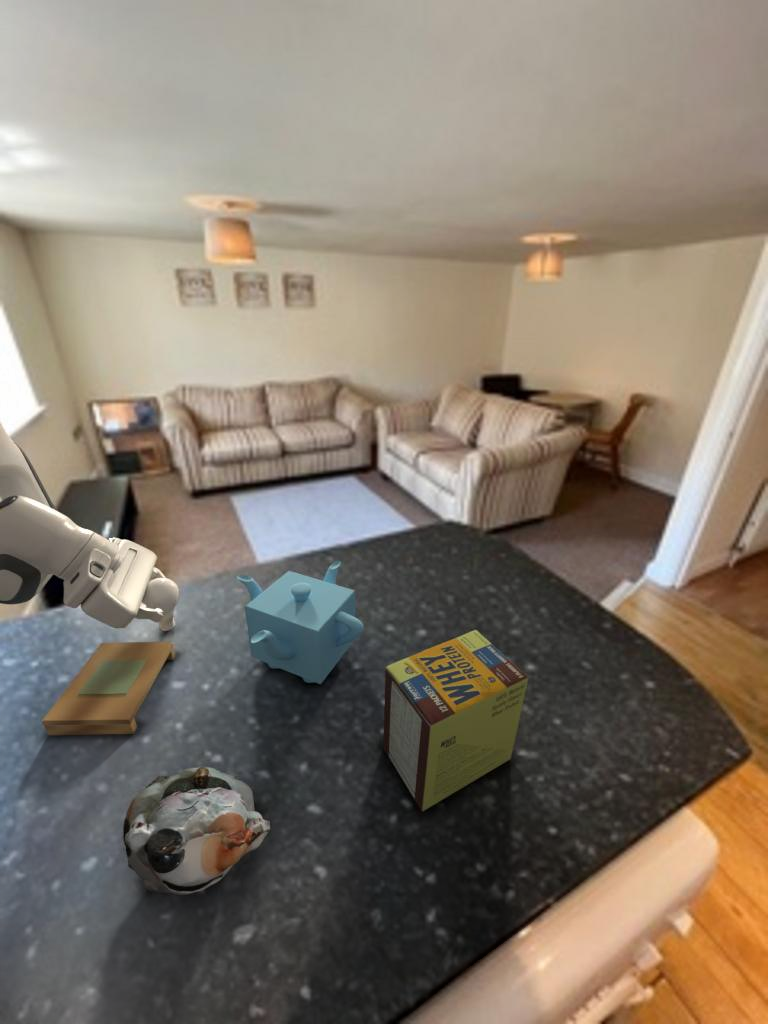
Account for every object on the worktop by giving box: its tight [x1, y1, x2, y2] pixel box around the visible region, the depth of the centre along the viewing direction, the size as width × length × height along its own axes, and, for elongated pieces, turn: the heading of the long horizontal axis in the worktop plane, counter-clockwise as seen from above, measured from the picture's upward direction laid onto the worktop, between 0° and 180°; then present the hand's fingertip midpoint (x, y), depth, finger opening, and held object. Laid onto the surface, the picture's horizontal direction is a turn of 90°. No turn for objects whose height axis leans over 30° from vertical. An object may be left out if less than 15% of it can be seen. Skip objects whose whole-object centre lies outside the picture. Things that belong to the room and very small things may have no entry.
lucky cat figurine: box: [122, 766, 271, 896], centre depth 49 cm, size 15×12×14 cm
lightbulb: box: [141, 577, 181, 632], centre depth 83 cm, size 6×6×11 cm
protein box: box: [382, 629, 529, 812], centre depth 60 cm, size 10×15×16 cm
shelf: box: [41, 641, 176, 736], centre depth 71 cm, size 12×16×3 cm
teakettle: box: [236, 560, 364, 685], centre depth 77 cm, size 19×19×15 cm
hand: (166, 601), depth 83 cm, fingers open, 8 cm apart
